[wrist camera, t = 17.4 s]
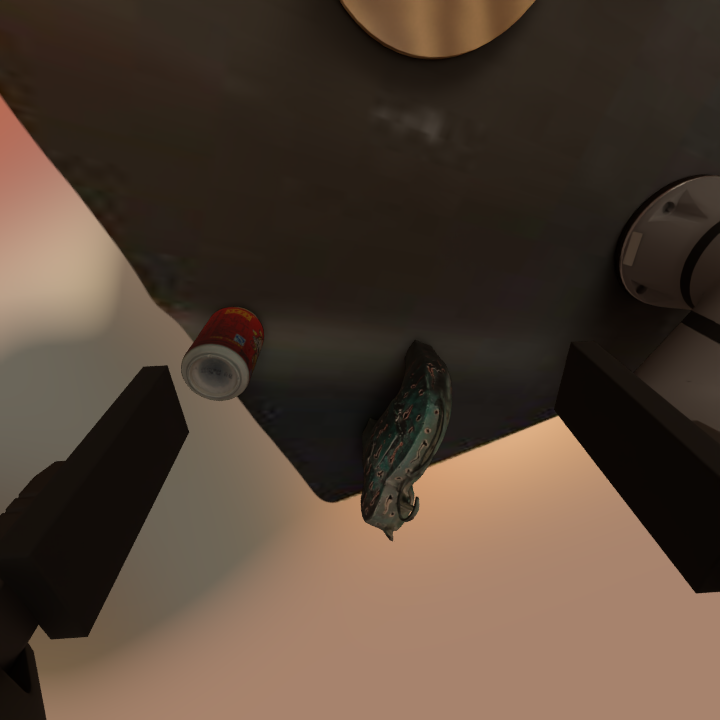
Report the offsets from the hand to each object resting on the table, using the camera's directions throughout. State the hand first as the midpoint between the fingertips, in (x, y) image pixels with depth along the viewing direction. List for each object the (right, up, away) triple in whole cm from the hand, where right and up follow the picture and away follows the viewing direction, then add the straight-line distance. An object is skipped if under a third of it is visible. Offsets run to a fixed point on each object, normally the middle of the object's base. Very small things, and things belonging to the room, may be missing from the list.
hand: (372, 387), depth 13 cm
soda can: (-16, +5, +39) cm, 42 cm away
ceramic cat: (+4, -4, +45) cm, 45 cm away
